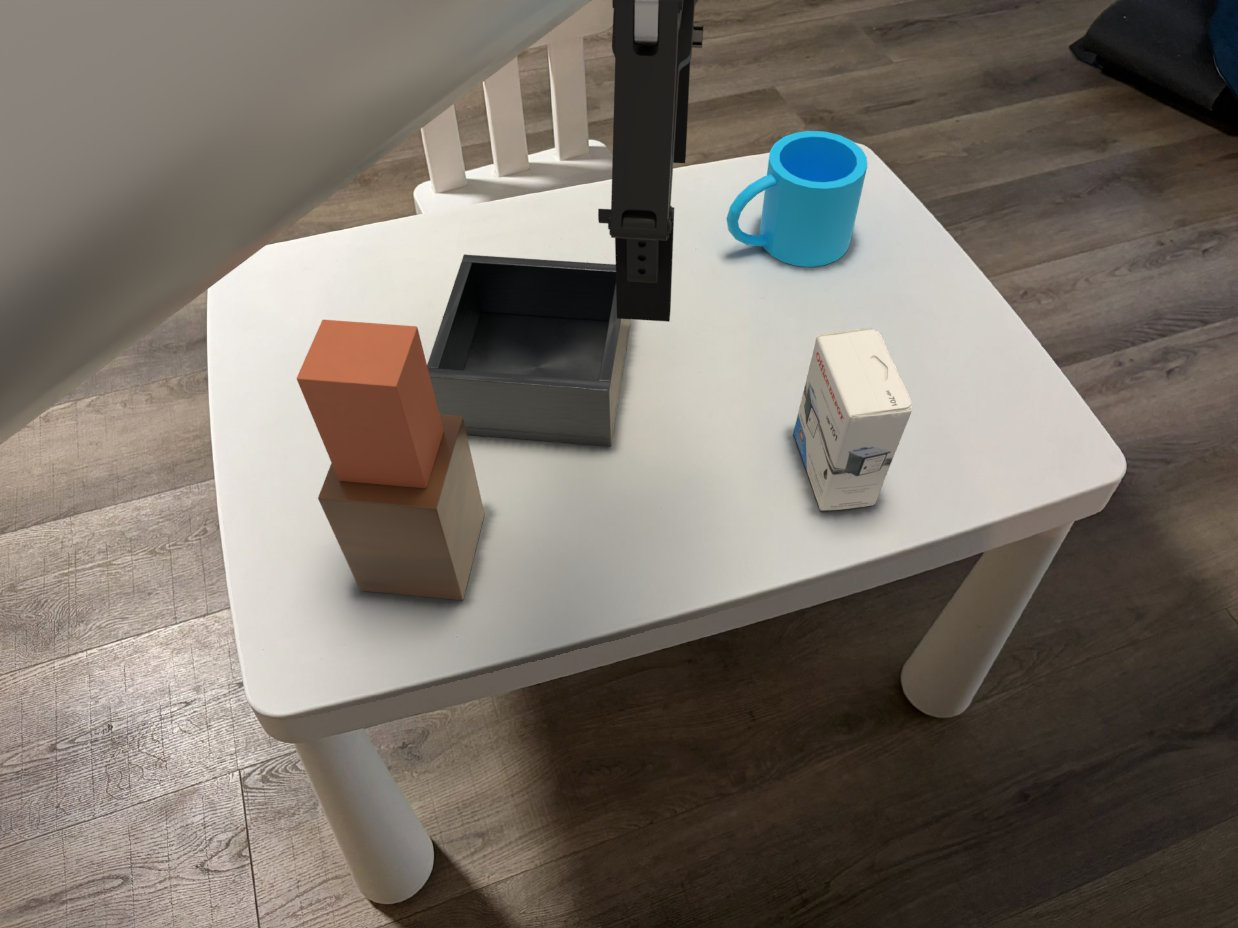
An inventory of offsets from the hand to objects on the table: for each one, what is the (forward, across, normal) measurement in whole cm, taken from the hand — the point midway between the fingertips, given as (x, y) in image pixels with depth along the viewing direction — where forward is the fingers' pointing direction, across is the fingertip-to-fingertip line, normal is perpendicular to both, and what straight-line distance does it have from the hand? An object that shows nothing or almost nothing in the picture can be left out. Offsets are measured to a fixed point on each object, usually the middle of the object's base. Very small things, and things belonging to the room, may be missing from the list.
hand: (654, 231), depth 53 cm
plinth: (+28, -5, +17) cm, 33 cm away
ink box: (+28, +6, -15) cm, 33 cm away
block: (+16, -5, +17) cm, 24 cm away
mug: (+28, +35, -11) cm, 46 cm away
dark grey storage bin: (+28, +15, +11) cm, 34 cm away
